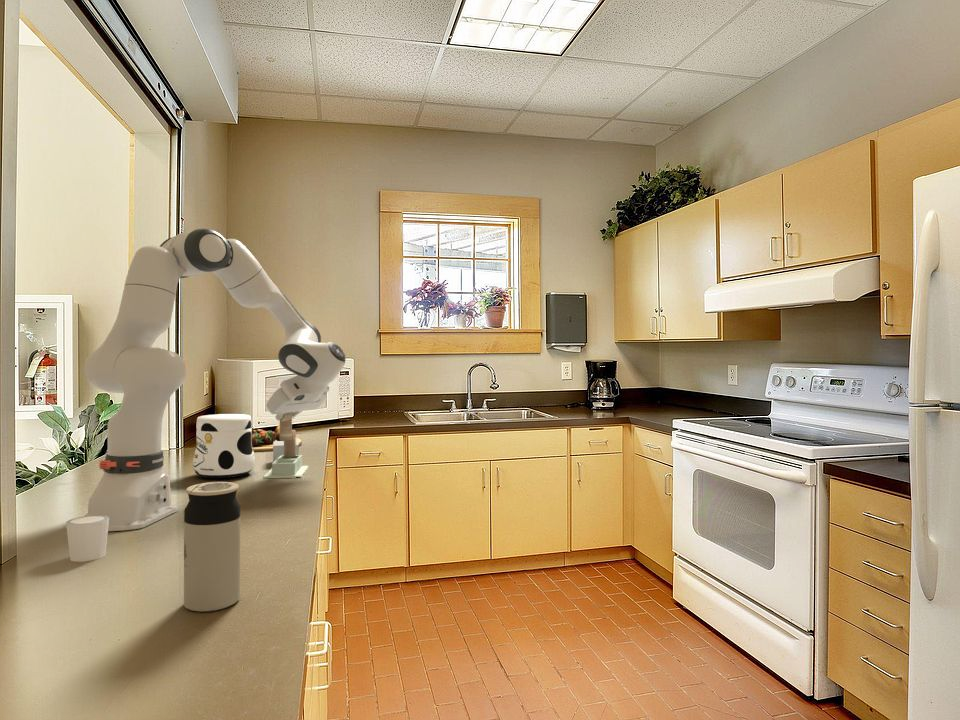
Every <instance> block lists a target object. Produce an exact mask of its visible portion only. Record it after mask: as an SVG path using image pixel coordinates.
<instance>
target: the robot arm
mask: <svg viewBox="0 0 960 720" xmlns="http://www.w3.org/2000/svg"><path fill="white" fill-rule="evenodd" d="M209 273H212V274H213V275H215V276H216V277H217V278H218V279H219V280H220V282H221V283H222V285H223V286H224V288H225V289H226V291H227V292H228V293H229V295H230V296H231V297H232V298H233V299H234V300H235V302H236V303H238V304H239V306H241V307H244V308H247V309H259V308H263V309H266V310H267V311H269V312H270V313H271V315H272V316H273V317H274V319H276V321H277V322H278V323H279V325H280V326H281V327H282V329H283V331H284V334H285V337H284V340H283V343H282V344H281V346H280V348H279V350H278V358H277V359H278V361H279V364H280V365H281V366H282V367H283V368H284V369H285V370H287V371H289V372H290V373H292V374H295V376H293V377H291V378H287V379H285V380H283V381H281V382H280V384H279V386H280V387H279V388H277V389H276V390H275V391H274V392H273V394H272V395H271V397H270V398H268V400H267V402H266V409H267V410H268V412H269V413H270V415H275V420H277V421H279V422H280V420H282V419H283V418H284V416H283V414H285V413H289V412H292V420H293V419H295V417H297V416H298V415H300V414H301V413H302V412H303V411H304V412H305V411H310V410H317V409H318V408H320V407H321V406H322V404H323V403H324V401H325V400H326V398H327V396H328V394H327V393H328V392H329V391H330V386H329V385H330V383H332V382H333V381H334V380H335V379H336V378H337V376H338V375H340V373H341V371H342V370H343V368H344V366H345V363H346V354H345V352H344V351H343V349H342V348H341V347H340V345H338V344H336V343H335V342H332V341H328V342H321V341H322V336H321V333H320V331H319V329H318V328H317V327H316V326H315V325H313V324H312V323H311V322H310V321H308V320H306V319H305V318H304V317H303V316H302V315H301V314H300V313H299V312H298V310H297V309H296V308H295V306H294V305H293V304H292V302H291V301H290V300H289V298H288V297H287V295H285V294H284V292H283V291H282V290H281V289H280V288H279V287H278V286H277V285H276V284H275V283H274V282H273V281H272V279H271V278H270V277H269V275H268V274H267V272H266V271H265V270H264V268H263V266H262V265H261V263H260V262H259V261H258V260H257V258H256V257H255V255H254V254H253V253H252V252H251V251H250V250H249V248H247V247H246V245H244V244H243V243H242V241H239V240H238V239H236V238H227V239H226V238H225V237H224V236H223V235H222V234H221V233H219V232H217V231H215V230H213V229H210V228H197V229H196V228H195V229H194V230H190V231H185V232H184V231H183V232H181V233H178V234H177V235H174V236H172V237H169V238H167V239H166V240H164V241H163V242H162V243H161V244H160V245H159V246H158V245H146V246H142V247H140V248H139V249H137V250H136V252H135V254H134V255H133V258H132V260H131V262H130V265H129V268H128V270H127V275H126V277H125V281H124V286H123V291H122V296H121V299H120V303H119V304H120V305H119V308H118V312H117V315H116V316H117V317H116V319H115V321H114V324H113V326H112V327H111V329H110V331H109V333H108V335H107V336H106V337H105V338H104V339H105V340H104V341H103V342H102V344H101V345H100V346H99V347H98V348H97V349H96V350H94V351H92V353H90V354H89V355H88V357H87V358H86V360H85V362H84V366H83V374H84V376H85V377H84V378H85V379H86V381H87V383H88V384H90V386H91V387H94V388H97V389H99V390H102V391H105V392H108V393H113V394H115V393H116V394H123V397H122V401H121V403H120V407H119V409H118V410H117V412H116V413H114V414H113V415H112V416H110V418H109V419H108V422H107V454H105V457H104V458H105V459H104V460H103V459H102V460H100V461H99V463H98V468H99V470H102V472H103V474H102V476H101V477H100V479H99V481H98V482H97V485H96V487H95V488H94V490H93V491H92V493H91V495H90V497H89V498H88V505H87V513H86V514H85V515H84V516H91V515H104V516H108V517H109V526H108V532H116V531H117V532H118V531H129V530H130V531H131V530H137V529H143V528H145V527H147V526H149V525H152V524H154V523H155V522H158V521H160V520H162V519H164V518H166V517H168V516H170V515H173V514H174V513H177V512H178V506H176V505H173V504H172V494H171V493H172V492H171V483H170V482H171V480H170V479H171V478H170V476H169V474H167V473H166V472H165V470H164V469H163V466H164V459H165V458H164V457H165V456H164V451H163V450H162V432H163V431H162V430H163V418H164V414H165V409H166V408H167V404H168V402H169V400H170V398H171V397H172V396H173V394H174V393H175V392H176V391H177V390H178V389H180V387H181V386H182V385H183V383H184V381H185V378H186V374H187V371H186V370H187V369H186V365H185V361H184V359H183V358H182V357H181V356H180V354H178V353H177V352H174V351H172V350H170V349H169V350H168V349H165V348H161V347H152V346H153V344H154V343H155V342H156V340H157V339H158V338H159V337H160V335H162V334H163V333H164V332H166V331H167V330H168V329H169V327H170V326H171V321H172V316H173V312H174V306H175V300H176V296H177V289H178V284H179V281H180V279H184V278H188V277H189V278H190V277H199V276H202V275H206V274H209Z"/></svg>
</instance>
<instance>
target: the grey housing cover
mask: <svg viewBox="0 0 960 720" xmlns="http://www.w3.org/2000/svg"><path fill="white" fill-rule="evenodd" d="M299 447H300V446H299V444H298V440H297V441H296V455H300V454H299ZM281 455H284V441H274V442H273V451H272V463H273V462H274V461H275V460H277V458H278V457H279V456H281Z"/></svg>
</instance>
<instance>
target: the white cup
mask: <svg viewBox="0 0 960 720" xmlns="http://www.w3.org/2000/svg"><path fill="white" fill-rule="evenodd" d="M65 526H66V535H67V544H68V553H69V560H70V561H71V562H77V563H83V562H90V561H95V560H99V559H101V558H103V557H105V556H106V554H107V545H108V544H107V543H108V534H109V531H108V526H109V517H108V516H104V515H91V516H85V515H84V516H78V517H75V518H71V519H68V520H67V521H66V522H65Z"/></svg>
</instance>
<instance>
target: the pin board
mask: <svg viewBox="0 0 960 720" xmlns="http://www.w3.org/2000/svg"><path fill="white" fill-rule="evenodd" d="M296 436H297V431H296V429H292V440H284V455H281V456H279V457H278V458H277V460H275V461H274V462H273V461H272V463H271V468H270V470H269V471H267V472H266V473H265V474H264V475H263V477H262V478H263V479H297V478H296V477H301V478H303V476H304V475H305V473H306V472H307V471H308V469H309V467H310V465H303V454H299V455H296V438H297V437H296ZM306 470H307V471H306ZM303 474H304V475H303Z"/></svg>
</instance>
